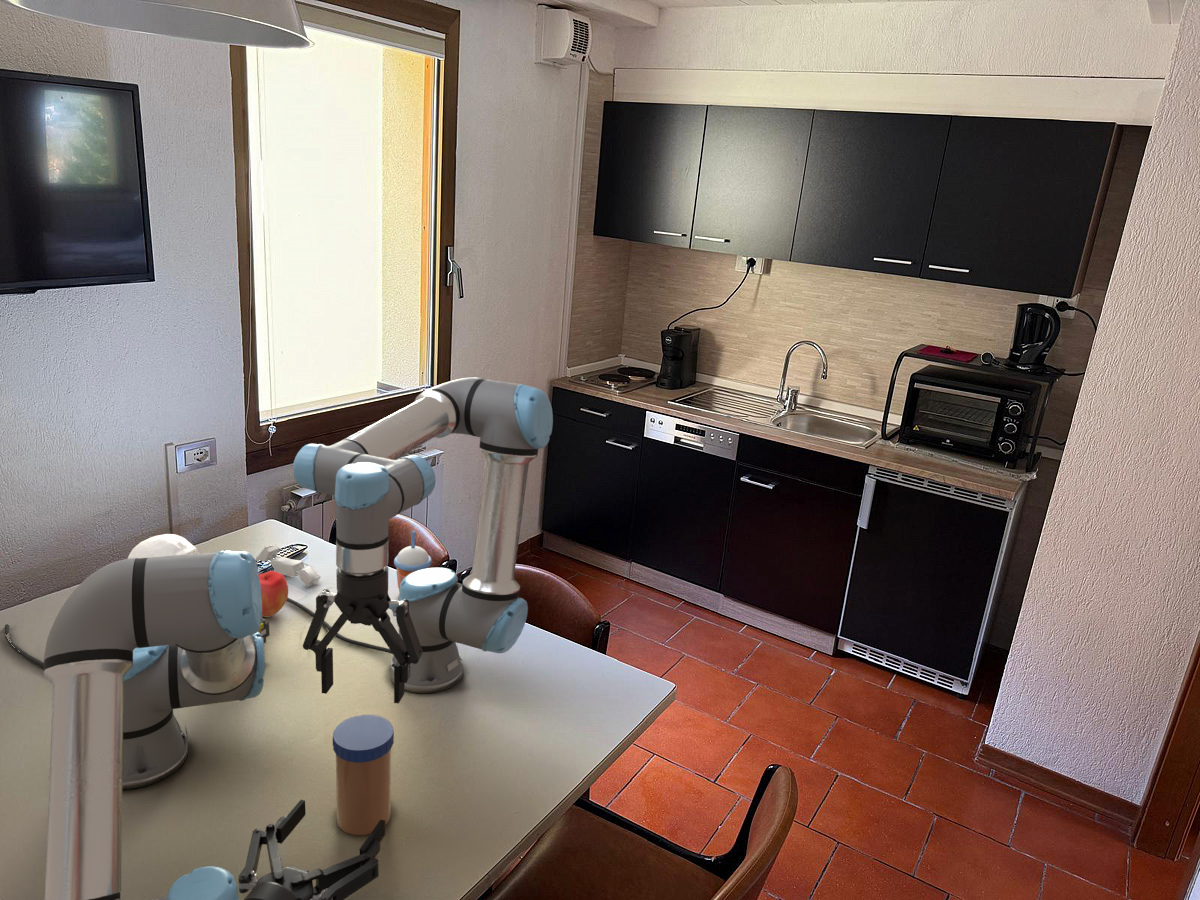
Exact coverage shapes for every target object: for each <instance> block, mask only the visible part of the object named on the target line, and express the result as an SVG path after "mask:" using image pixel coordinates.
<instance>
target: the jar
mask: <svg viewBox="0 0 1200 900" xmlns="http://www.w3.org/2000/svg"><path fill="white" fill-rule="evenodd" d="M335 787H336V789H335V792H336V793H335V794H336V795H335V796H336V824H337V826H338V827H339V828H340V830H342V831H343V832H344V833H346V834H349V835H353V836H366V835H370V834H371V832H372V831H373V830H374V828H375V827H376V825H377V824H378V822H379V821H380V820H385V826H386V825H387V824H388V823H389V821H390V819H391V816H392V815H391V812H392V810H391V809H392V801H391V799H392V748H391V749H390V750H389V752H388V753H387V754H385V755H384V756H382V757H380V758H378V759H376V760H373V761H369V762H349V761H346V760H343V759H341V758H340V757H338V756H337V755H336V754H335Z"/></svg>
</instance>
